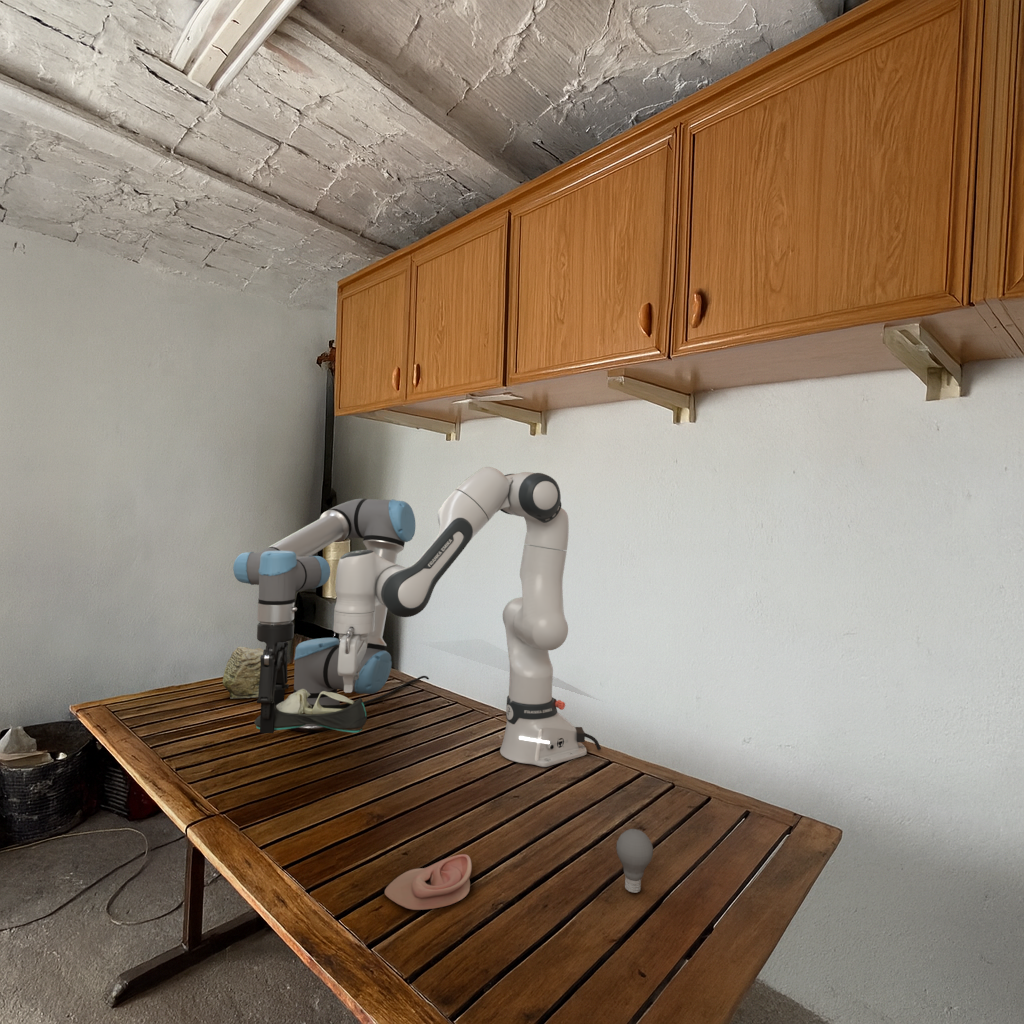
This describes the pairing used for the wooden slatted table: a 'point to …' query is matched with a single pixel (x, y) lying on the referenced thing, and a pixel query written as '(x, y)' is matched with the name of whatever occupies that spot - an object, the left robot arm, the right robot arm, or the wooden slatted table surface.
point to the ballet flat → (319, 713)
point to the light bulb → (634, 857)
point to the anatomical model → (432, 884)
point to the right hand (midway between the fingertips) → (351, 685)
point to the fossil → (243, 673)
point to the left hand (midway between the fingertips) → (272, 725)
